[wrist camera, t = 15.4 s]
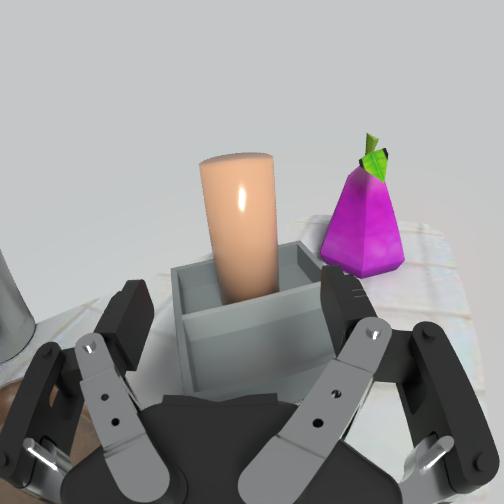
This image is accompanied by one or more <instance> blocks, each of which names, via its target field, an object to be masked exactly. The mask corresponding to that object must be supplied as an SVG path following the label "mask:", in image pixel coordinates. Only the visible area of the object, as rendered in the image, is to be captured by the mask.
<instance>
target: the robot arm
mask: <svg viewBox="0 0 504 504" xmlns="http://www.w3.org/2000/svg"><path fill="white" fill-rule="evenodd" d="M320 301H321V307H322V311H323V314H324V317H325V321H326V324H327V327H328V331H329V334H330V337H331V341H332V344H333V348H334V351H335V355H336V358H332V359H331V361H330V362H329V363H328V365H327V366H326V368H325V369H324V371H323V373H322V374H321V376H320V377H319V379H318V380H317V381H316V383H315V384H314V386H313V387H312V389H311V390H310V392H309V393H308V395H307V396H306V397H305V399H304V400H303V402H302V403H301V404H300V406H297V405H294V404H292V403H288V402H284V401H278V398H277V393H268V394H253V395H245V396H241V397H238V398H234V399H229V400H225V401H221V402H215V401H210V400H206V399H201V398H197V397H193V396H179V395H164V396H163V401H162V403H159V404H155V405H152V406H150V407H148V408H146V409H144V410H143V408H142V406H141V405H140V403H139V401H138V399H137V397H136V395H135V393H134V391H133V390H132V388H131V386H130V384H129V382H128V380H127V378H126V376H125V374H126V371H136V370H137V367H138V364H139V360H140V357H141V354H142V351H143V348H144V345H145V342H146V339H147V336H148V333H149V330H150V327H151V325H152V322H153V319H154V306H153V303H152V300H151V298H150V295H149V292H148V289H147V286H146V283H145V281H144V280H143V279H141V280H128V281H127V282H126V284H125V286H124V287H123V289H122V291H119V292H117V293H116V294H115V295H114V296H113V297H112V298H111V300H110V302H109V303H108V305H107V307H106V309H105V311H104V313H103V315H102V316H101V318H100V320H99V322H98V324H97V326H96V328H95V330H94V332H93V333H89V334H86V335H84V336H83V337H81V338H80V339H79V340H78V341H77V343H76V345H75V347H74V348H69V349H64V350H61V348H60V346H59V345H58V344H57V343H56V342H48V343H45V344H44V345H42V346H41V347H40V348H39V349H38V350H37V352H36V354H35V355H34V357H33V359H32V361H31V363H30V365H29V367H28V369H27V371H26V374H25V376H24V378H23V380H22V382H21V384H20V386H19V389H18V391H17V393H16V395H15V398H14V400H13V402H12V405H11V407H10V410H9V412H8V415H7V417H6V420H5V422H4V425H3V428H2V430H1V433H0V478H2V479H3V480H5V481H7V482H8V483H10V484H11V485H12V486H13V487H15V488H17V489H18V490H20V491H22V492H24V493H25V494H27V495H29V496H31V497H33V498H36V499H38V500H40V501H42V502H44V503H46V504H55V503H57V504H450V503H452V502H454V501H456V500H458V499H460V498H462V497H464V496H466V495H467V494H469V493H471V492H473V491H475V490H476V489H478V488H480V487H482V486H483V485H485V484H487V483H488V482H490V481H491V480H492V479H493V478H494V476H495V475H496V473H497V471H498V469H499V462H500V461H499V455H498V452H497V449H496V446H495V444H494V440H493V437H492V435H491V432H490V429H489V427H488V424H487V421H486V419H485V416H484V414H483V411H482V409H481V406H480V404H479V402H478V399H477V397H476V395H475V392H474V390H473V388H472V386H471V384H470V381H469V379H468V377H467V375H466V373H465V371H464V369H463V367H462V365H461V363H460V361H459V359H458V357H457V355H456V353H455V351H454V349H453V347H452V345H451V343H450V341H449V340H448V338H447V336H446V334H445V332H444V331H443V329H442V328H441V327H440V326H439V325H437V324H435V323H433V322H427V321H424V322H420V323H418V324H416V325H415V326H414V328H413V331H401V330H394V329H392V328H391V326H390V325H389V324H388V323H387V322H386V321H385V320H383V319H381V318H378V317H377V315H376V312H375V310H374V308H373V306H372V304H371V302H370V301H369V299H368V297H367V296H366V293H365V291H364V290H363V287H362V285H361V283H360V281H359V280H358V279H357V278H355V277H354V276H353V275H351V274H349V275H344V273H343V271H342V269H341V267H340V265H339V264H336V265H326V266H322V269H321V288H320ZM34 329H35V321H34V318H33V317H32V315H31V313H30V311H29V309H28V307H27V306H26V304H25V302H24V300H23V298H22V296H21V294H20V292H19V290H18V288H17V286H16V284H15V282H14V280H13V277H12V275H11V273H10V271H9V269H8V267H7V264H6V262H5V260H4V257H3V255H2V252H1V250H0V363H1V362H4V361H6V360H9V359H10V358H12V357H13V356H15V355H16V354H17V353H19V352H20V351H21V350H22V349H23V348H24V347H25V346H26V344H27V343H28V342H29V340H30V339H31V337H32V335H33V332H34ZM375 381H378V382H391V383H396V386H397V389H398V392H399V396H400V399H401V402H402V406H403V409H404V413H405V416H406V420H407V423H408V427H409V431H410V434H411V438H412V442H413V446H414V450H413V451H412V452H411V453H410V454H409V455H408V456H407V458H406V460H405V463H404V476H403V479H402V481H401V482H400V483H399V484H397V482H396V481H395V480H394V479H393V477H391V476H390V475H389V474H388V473H386V472H385V471H383V470H382V469H381V468H379V467H378V466H377V465H375V464H374V463H372V462H371V461H370V460H368V459H367V458H366V457H364V456H363V455H362V454H360V453H359V452H358V451H357V450H355V449H354V448H353V447H351V446H350V445H349V444H347V443H346V442H345V440H346V438H347V436H348V434H349V433H350V431H351V429H352V427H353V425H354V423H355V421H356V419H357V417H358V415H359V413H360V411H361V409H362V407H363V405H364V403H365V401H366V399H367V397H368V395H369V393H370V391H371V389H372V387H373V385H374V383H375ZM54 385H55V386H56V387H57V389H58V391H57V394H56V397H55V399H54V402H53V405H52V407H51V405H50V395H51V392H52V390H53V387H54ZM84 402H86V405H87V408H88V410H89V413H90V416H91V419H92V421H93V424H94V427H95V429H96V432H97V434H98V437H99V439H100V442H101V445H100V446H99V447H98V448H96V449H95V450H94V451H93V452H92V453H90V454H89V455H88V456H87V457H85V458H84V459H83V460H82V461H80V462H79V463H78V464H77V465H76V466H74V467H73V468H72V462H71V460H70V458H69V457H70V452H71V448H72V444H73V440H74V437H75V433H76V429H77V426H78V422H79V419H80V415H81V412H82V408H83V405H84Z"/></svg>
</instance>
